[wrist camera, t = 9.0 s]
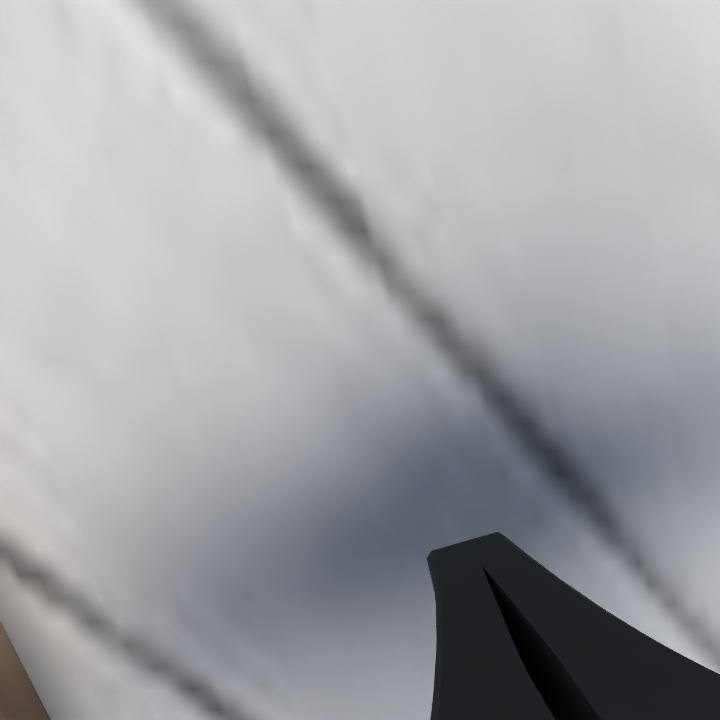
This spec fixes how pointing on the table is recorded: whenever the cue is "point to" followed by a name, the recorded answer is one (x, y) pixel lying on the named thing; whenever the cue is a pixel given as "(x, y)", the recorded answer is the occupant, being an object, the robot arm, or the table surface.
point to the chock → (16, 687)
